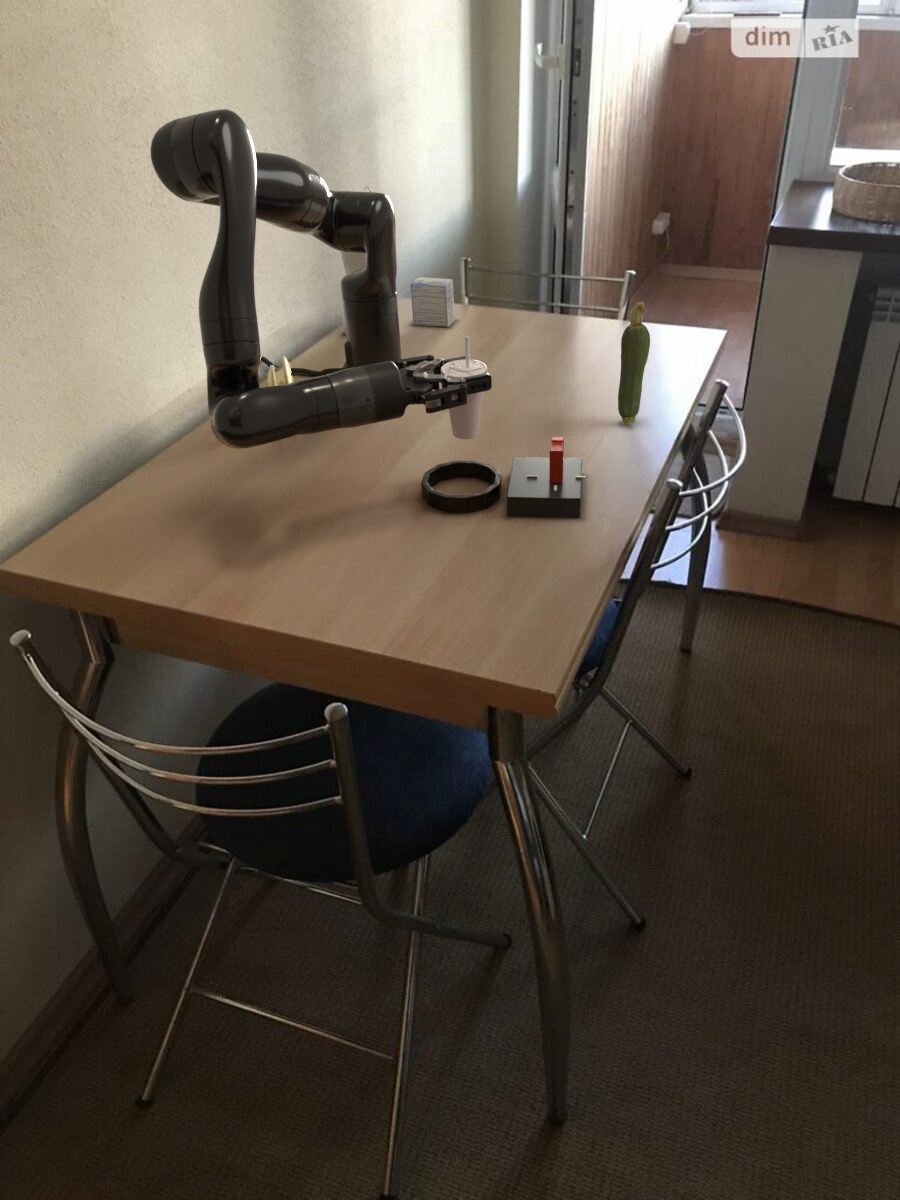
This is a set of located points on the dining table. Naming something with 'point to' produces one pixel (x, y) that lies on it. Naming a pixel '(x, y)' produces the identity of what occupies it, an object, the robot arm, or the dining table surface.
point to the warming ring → (461, 501)
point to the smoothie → (467, 415)
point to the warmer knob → (556, 460)
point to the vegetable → (633, 364)
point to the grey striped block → (432, 302)
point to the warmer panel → (544, 488)
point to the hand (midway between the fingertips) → (479, 372)
